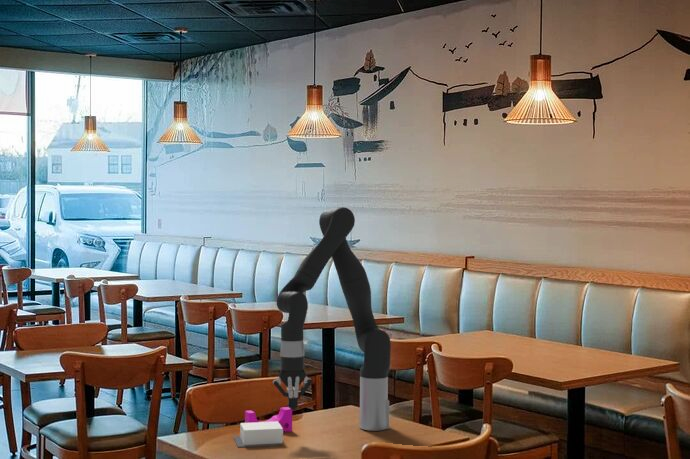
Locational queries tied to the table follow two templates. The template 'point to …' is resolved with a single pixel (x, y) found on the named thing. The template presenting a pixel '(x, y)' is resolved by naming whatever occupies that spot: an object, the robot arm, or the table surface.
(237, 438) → the mat
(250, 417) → the toy block
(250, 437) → the white rectangular block
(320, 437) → the table surface
